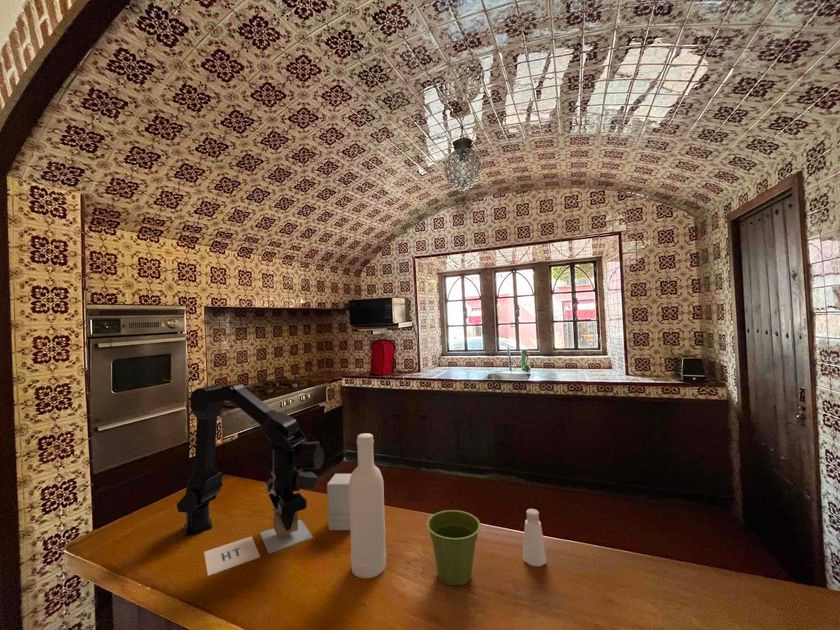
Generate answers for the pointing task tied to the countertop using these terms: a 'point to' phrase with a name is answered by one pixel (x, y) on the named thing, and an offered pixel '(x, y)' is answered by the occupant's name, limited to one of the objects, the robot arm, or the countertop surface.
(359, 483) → the bottle
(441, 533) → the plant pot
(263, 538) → the grey mat
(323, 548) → the countertop surface
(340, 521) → the supplement box
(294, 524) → the walnut block
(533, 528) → the salt shaker
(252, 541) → the card
